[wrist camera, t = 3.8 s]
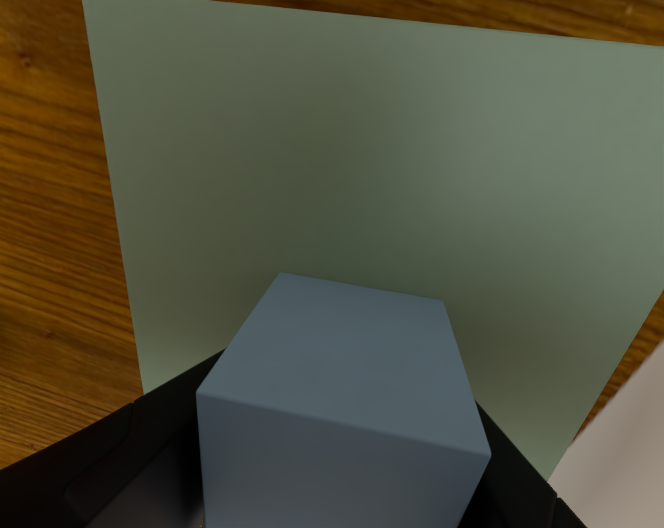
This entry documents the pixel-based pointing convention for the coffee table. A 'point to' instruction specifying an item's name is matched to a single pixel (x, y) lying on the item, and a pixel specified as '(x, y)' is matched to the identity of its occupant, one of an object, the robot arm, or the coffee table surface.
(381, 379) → the block
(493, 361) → the cabinet
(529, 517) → the robot arm
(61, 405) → the coffee table surface
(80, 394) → the coffee table surface
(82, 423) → the coffee table surface
